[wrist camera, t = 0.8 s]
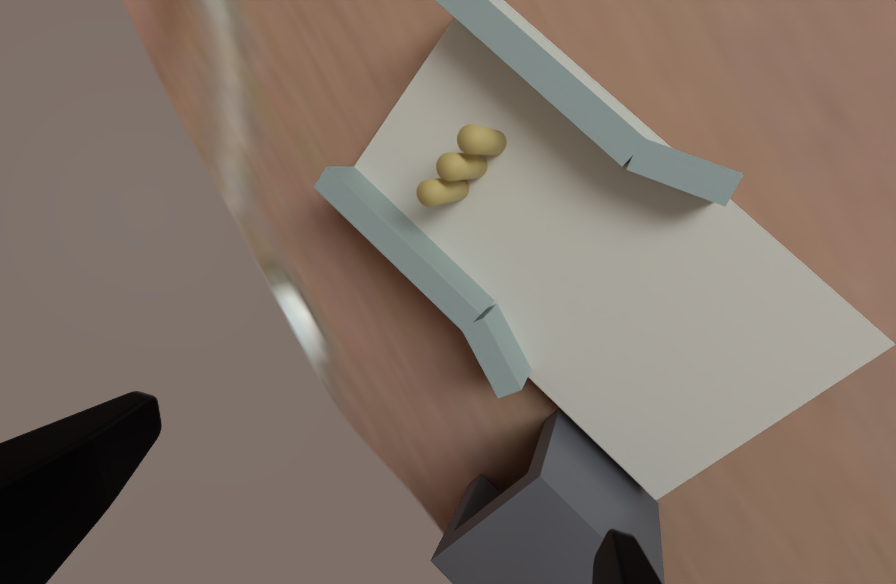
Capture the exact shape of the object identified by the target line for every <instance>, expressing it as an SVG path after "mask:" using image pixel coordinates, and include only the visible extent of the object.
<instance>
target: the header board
mask: <svg viewBox="0 0 896 584" xmlns="http://www.w3.org/2000/svg"><path fill="white" fill-rule="evenodd" d="M436 1H437V2H438V3H439V4H440V5H441V6H443V7H444V8H445V9H446V10H447V11H448V12H449V13H450V14H452V15H453V16H454V19H453V20H452V22H451V23H450V25H449V26H448V28H447V29H446V31H445V32H444V34H443V35H442V37H441V38H440V40H439V41H438V42H437V44H436V45H435V47H434V48H433V50H432V51H431V53H430V54H429V56H428V57H427V59H426V60H425V62H424V63H423V65H422V66H421V68H420V69H419V71H418V72H417V74H416V75H415V77H414V78H413V80H412V81H411V83H410V84H409V86H408V87H407V89H406V90H405V92H404V93H403V95H402V96H401V97H400V99H399V100H398V102H397V103H396V105H395V106H394V108H393V109H392V111H391V112H390V114H389V115H388V117H387V118H386V120H385V121H384V123H383V124H382V126H381V127H380V129H379V130H378V132H377V133H376V135H375V136H374V138H373V139H372V141H371V142H370V144H369V145H368V147H367V148H366V150H365V151H364V152H363V154H362V155H361V157H360V158H359V160H358V161H357V163H356V164H355V166H346V167H326V169H325V170H324V172H323V173H322V175H321V176H320V178H319V180H318V181H317V183H316V184H315V186H314V188H315V189H316V190H317V191H318V192H319V193H320V194H321V195H322V196H323V197H324V198H325V199H326V200H327V201H328V202H329V203H330V204H332V205H333V206H334V207H335V208H336V209H337V210H338V211H339V212H340V213H341V214H342V215H343V216H344V217H345V218H346V219H347V220H348V221H349V222H350V223H351V224H352V225H353V226H354V227H355V228H356V229H357V230H358V231H359V232H360V233H361V234H362V235H364V236H365V237H366V238H367V239H368V240H369V241H370V242H371V243H372V244H373V245H374V246H375V247H376V248H377V249H378V250H379V251H380V252H381V253H382V254H383V255H384V256H385V257H386V258H387V259H388V260H389V261H390V262H391V263H392V264H393V265H395V266H396V267H397V268H398V269H399V270H400V271H401V272H402V273H403V274H404V275H405V276H406V277H407V278H408V279H409V280H410V281H411V282H412V283H413V284H414V285H415V286H416V287H417V288H418V289H419V290H420V291H421V292H422V293H423V294H424V295H425V296H427V297H428V298H429V299H430V300H431V301H432V302H433V303H434V304H435V305H436V306H437V307H438V308H439V309H440V310H441V311H442V312H443V313H444V314H445V315H446V316H447V317H448V318H449V319H450V320H451V321H452V322H453V323H454V324H455V325H456V326H458V327H459V328H460V329H461V330H462V332H463V333H464V335H465V337H466V339H467V341H468V343H469V345H470V347H471V348H472V350H473V352H474V354H475V356H476V358H477V360H478V362H479V364H480V365H481V367H482V369H483V371H484V373H485V375H486V377H487V379H488V381H489V382H490V384H491V386H492V388H493V390H494V392H495V394H496V396H497V398H501V397H504V396H507V395H509V394H512V393H515V392H517V391H520V390H522V388H523V386H524V384H525V382H526V380H527V378H528V377H529V378H530V379H531V380H532V381H533V382H534V383H535V384H536V385H537V386H538V387H539V388H540V389H541V390H542V391H543V392H544V393H545V394H546V395H547V396H548V397H550V398H551V399H552V400H553V401H554V402H555V403H556V404H557V405H558V406H559V407H560V408H561V409H562V410H563V411H564V412H565V413H566V414H567V415H568V416H569V417H570V418H571V419H572V420H573V421H574V422H575V423H577V424H578V425H579V426H580V427H581V428H582V429H583V430H584V431H585V432H586V433H587V434H588V435H589V436H590V437H591V438H592V439H593V440H594V441H595V442H596V443H597V444H598V445H599V446H600V447H601V448H602V449H603V450H605V451H606V452H607V453H608V454H609V455H610V456H611V457H612V458H613V459H614V460H615V461H616V462H617V463H618V464H619V465H620V466H621V467H622V468H623V469H624V470H625V471H626V472H627V473H628V474H629V475H630V476H631V477H633V478H634V479H635V480H636V481H637V482H638V483H639V484H640V485H641V486H642V487H643V488H644V489H645V490H646V491H647V492H648V493H649V494H650V495H651V496H652V497H653V498H654V499H655V500H658V499H659V498H661V497H662V496H664V495H665V494H667V493H668V492H670V491H672V490H673V489H675V488H676V487H678V486H679V485H681V484H682V483H684V482H685V481H687V480H688V479H690V478H691V477H693V476H695V475H696V474H698V473H699V472H701V471H702V470H704V469H705V468H707V467H708V466H710V465H711V464H713V463H714V462H716V461H718V460H719V459H721V458H722V457H724V456H725V455H727V454H728V453H730V452H731V451H733V450H734V449H736V448H737V447H739V446H741V445H742V444H744V443H745V442H747V441H748V440H750V439H751V438H753V437H754V436H756V435H757V434H759V433H760V432H762V431H764V430H765V429H767V428H768V427H770V426H771V425H773V424H774V423H776V422H777V421H779V420H780V419H782V418H783V417H785V416H787V415H788V414H790V413H791V412H793V411H794V410H796V409H797V408H799V407H800V406H802V405H803V404H805V403H806V402H808V401H810V400H811V399H813V398H814V397H816V396H817V395H819V394H820V393H822V392H823V391H825V390H826V389H828V388H829V387H831V386H833V385H834V384H836V383H837V382H839V381H840V380H842V379H843V378H845V377H846V376H848V375H849V374H851V373H852V372H854V371H856V370H857V369H859V368H860V367H862V366H863V365H865V364H866V363H868V362H869V361H871V360H872V359H874V358H876V357H877V356H879V355H880V354H882V353H883V352H885V351H886V350H888V349H889V348H891V347H892V346H894V345H895V344H894V343H893V342H892V341H891V340H890V339H889V338H888V337H886V336H885V335H884V334H883V333H882V332H881V331H880V330H879V329H877V328H876V327H875V326H874V325H873V324H872V323H871V322H869V321H868V320H867V319H866V318H865V317H864V316H863V315H861V314H860V313H859V312H858V311H857V310H856V309H855V308H853V307H852V306H851V305H850V304H849V303H848V302H847V301H845V300H844V299H843V298H842V297H841V296H840V295H839V294H838V293H836V292H835V291H834V290H833V289H832V288H831V287H830V286H828V285H827V284H826V283H825V282H824V281H823V280H822V279H820V278H819V277H818V276H817V275H816V274H815V273H814V272H812V271H811V270H810V269H809V268H808V267H807V266H806V265H804V264H803V263H802V262H801V261H800V260H799V259H798V258H797V257H795V256H794V255H793V254H792V253H791V252H790V251H789V250H787V249H786V248H785V247H784V246H783V245H782V244H781V243H779V242H778V241H777V240H776V239H775V238H774V237H773V236H771V235H770V234H769V233H768V232H767V231H766V230H765V229H763V228H762V227H761V226H760V225H759V224H758V223H757V222H755V221H754V220H753V219H752V218H751V217H750V216H749V215H748V214H746V213H745V212H744V211H743V210H742V209H741V208H740V207H738V206H737V205H736V204H735V203H734V202H733V201H732V200H730V198H731V196H732V194H733V192H734V191H735V189H736V187H737V185H738V183H739V182H740V180H741V178H742V176H743V173H740V172H737V171H735V170H732V169H729V168H726V167H723V166H721V165H718V164H715V163H712V162H709V161H707V160H704V159H701V158H698V157H695V156H693V155H690V154H687V153H684V152H681V151H679V150H676V149H673V148H671V147H670V146H669V145H668V144H667V143H666V142H664V141H663V140H662V139H661V138H660V137H659V136H658V135H656V134H655V133H654V132H653V131H652V130H651V129H650V128H648V127H647V126H646V125H645V124H644V123H643V122H642V121H640V120H639V119H638V118H637V117H636V116H635V115H634V114H632V113H631V112H630V111H629V110H628V109H627V108H626V107H625V106H623V105H622V104H621V103H620V102H619V101H618V100H617V99H615V98H614V97H613V96H612V95H611V94H610V93H609V92H607V91H606V90H605V89H604V88H603V87H602V86H601V85H599V84H598V83H597V82H596V81H595V80H594V79H593V78H591V77H590V76H589V75H588V74H587V73H586V72H585V71H583V70H582V69H581V68H580V67H579V66H578V65H577V64H576V63H574V62H573V61H572V60H571V59H570V58H569V57H568V56H566V55H565V54H564V53H563V52H562V51H561V50H560V49H558V48H557V47H556V46H555V45H554V44H553V43H552V42H550V41H549V40H548V39H547V38H546V37H545V36H544V35H542V34H541V33H540V32H539V31H538V30H537V29H536V28H535V27H533V26H532V25H531V24H530V23H529V22H528V21H527V20H525V19H524V18H523V17H522V16H521V15H520V14H519V13H517V12H516V11H515V10H514V9H513V8H512V7H511V6H509V5H508V4H507V3H506V2H505V1H504V0H436Z"/></svg>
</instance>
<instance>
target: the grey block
mask: <svg viewBox="0 0 896 584" xmlns="http://www.w3.org/2000/svg"><path fill="white" fill-rule="evenodd" d="M611 528H615V529H618V530H622V531H625V532H629V533H631V534H633V535H634V536H635V537H636V539H637V541H638V542H639V544H640V546H641V547H642V549H643V551H644V553H645V554H646V556H647V558H648V560H649V561H650V563H651V565H652V567H653V568H654V570H655V572H656V573H657V575H658V577H659V579H660V580H661V582H662V584H665V582H664V570H663V558H662V545H661V533H660V520H659V508H658V503H657V502H656V501H655V500H654V499H653V498H652V497H651V496H650V495H649V494H648V493H647V492H646V491H645V490H644V489H643V488H642V487H641V486H640V485H639V484H637V483H636V482H635V481H634V480H633V479H632V478H631V477H630V476H629V475H628V474H627V473H626V472H625V471H624V470H623V469H622V468H621V467H620V466H619V465H618V464H617V463H616V462H615V461H614V460H613V459H612V458H611V457H609V456H608V455H607V454H606V453H605V452H604V451H603V450H602V449H601V448H600V447H599V446H598V445H597V444H596V443H595V442H594V441H593V440H592V439H591V438H590V437H589V436H588V435H587V434H586V433H585V432H584V431H583V430H582V429H580V428H579V427H578V426H577V425H576V424H575V423H574V422H573V421H572V420H571V419H570V418H569V417H568V416H567V415H566V414H565V413H564V412H563V411H562V410H561V409H558V410H557V411H556V412H555V413H554V414H552V415H551V416H550V417H549V418H548V419H546V420H545V423H544V426H543V429H542V432H541V435H540V438H539V441H538V444H537V447H536V450H535V453H534V456H533V459H532V462H531V465H530V468H529V471H528V473H527V474H526V475H525V476H523V477H522V478H521V479H520V480H518V481H517V482H516V483H515V484H513V485H512V486H511V487H510V488H508V489H507V490H506V491H504V492H503V493H502V494H501V493H500V492H499V491H498V490H497V489H496V488H495V487H494V486H493V485H492V484H491V483H490V482H489V481H488V480H487V479H486V478H485V477H484V476H483V475H482V474H481V475H479V476H478V477H477V478H476V479H475V480H473V481H472V482H471V483H470V484H469V486H468V488H467V490H466V492H465V494H464V495H463V497H462V499H461V501H460V503H459V505H458V507H457V509H456V511H455V513H454V515H453V517H452V519H451V521H450V523H449V525H448V527H447V529H446V531H445V533H444V535H443V537H442V539H441V541H440V543H439V545H438V547H437V549H436V551H435V553H434V555H433V557H432V559H431V561H432V563H433V564H434V565H435V566H436V567H437V568H438V569H439V570H440V571H441V572H442V573H443V574H444V575H445V576H446V577H447V578H448V579H449V580H450V581H451V582H452V583H453V584H592V576H593V562H594V558H595V554H596V552H597V550H598V548H599V547H600V545H601V543H602V541H603V539H604V537H605V535H606V533H607V532H608V530H609V529H611Z"/></svg>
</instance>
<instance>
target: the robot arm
mask: <svg viewBox="0 0 896 584" xmlns="http://www.w3.org/2000/svg"><path fill="white" fill-rule="evenodd" d="M160 431H161V418H160V412H159V405H158V401H157V398H156V397H155V396H153V395H150V394H146V393H143V392H139V391H134V392H131V393H127V394H125V395H122V396H120V397H117V398H115V399H112V400H109V401H107V402H104V403H102V404H99V405H97V406H94V407H92V408H89V409H86V410H84V411H81V412H79V413H76V414H74V415H71V416H68V417H66V418H64V419H61V420H58V421H56V422H53V423H51V424H48V425H45V426H43V427H40V428H38V429H36V430H33V431H30V432H27V433H25V434H22V435H20V436H17V437H15V438H12V439H10V440H7V441H5V442H2V443H0V584H46V583H47V582H48V580H49V579H50V578H51V577H52V576H53V574H54V573H55V572H56V571H57V570H58V568H59V567H60V566H61V565H62V564H63V562H64V561H65V560H66V559H67V558H68V556H69V555H70V554H71V553H72V551H73V550H74V549H75V548H76V547H77V546H78V544H79V543H80V542H81V541H82V540H83V538H84V537H85V536H86V535H87V534H88V532H89V531H90V530H91V529H92V527H94V525H95V524H96V523H97V522H98V521H99V519H100V518H101V517H102V516H103V514H104V513H105V512H106V510H107V509H108V508H109V507H110V505H111V504H112V503H113V501H114V500H115V498H116V497H117V496H118V495H119V493H120V492H121V490H122V489H123V487H124V486H125V484H126V483H127V481H128V480H129V479H130V477H131V476H132V474H133V473H134V472H135V470H136V468H137V467H138V466H139V464H140V463H141V461H142V460H143V458H144V457H145V456H146V454H147V452H148V451H149V450H150V448H151V447H152V445H153V444H154V443H155V441H156V440H157V438H158V436H159V434H160ZM592 584H662V582H661V580H660V579H659V577H658V575H657V573H656V572H655V570H654V568H653V567H652V565H651V563H650V561H649V560H648V558H647V556H646V554H645V553H644V551H643V549H642V547H641V546H640V544H639V542H638V541H637V539H636V537H635V536H634V535H633V534H631V533H629V532H625V531H622V530H618V529H615V528H611V529H609V530H608V532H607V533H606V535H605V537H604V539H603V541H602V543H601V545H600V547H599V548H598V550H597V552H596V554H595V558H594V562H593V576H592Z"/></svg>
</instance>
